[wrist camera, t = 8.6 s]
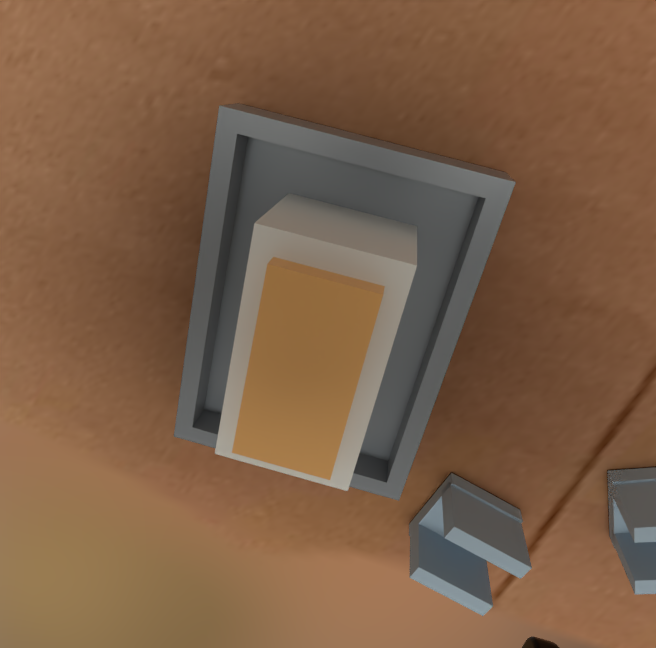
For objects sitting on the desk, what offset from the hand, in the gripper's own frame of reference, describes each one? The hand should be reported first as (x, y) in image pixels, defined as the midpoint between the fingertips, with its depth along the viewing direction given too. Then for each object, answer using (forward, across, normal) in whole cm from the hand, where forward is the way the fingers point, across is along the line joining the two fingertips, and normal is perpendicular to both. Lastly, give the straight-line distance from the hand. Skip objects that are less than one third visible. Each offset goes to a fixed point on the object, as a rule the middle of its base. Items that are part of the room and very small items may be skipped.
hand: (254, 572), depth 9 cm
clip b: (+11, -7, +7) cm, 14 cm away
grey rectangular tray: (+11, 0, 0) cm, 11 cm away
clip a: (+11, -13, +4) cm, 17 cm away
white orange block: (+10, 0, 0) cm, 10 cm away
